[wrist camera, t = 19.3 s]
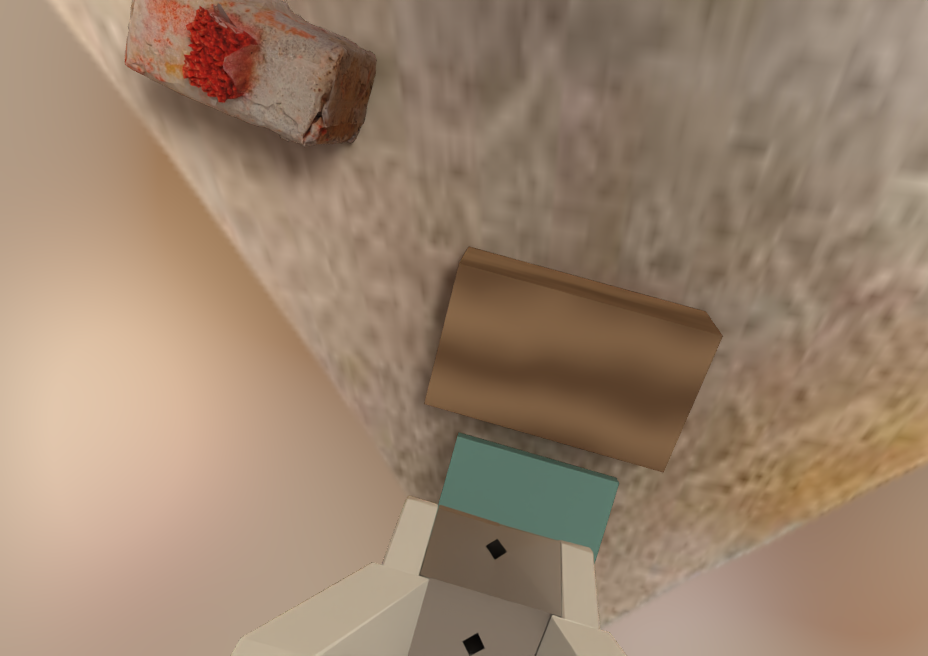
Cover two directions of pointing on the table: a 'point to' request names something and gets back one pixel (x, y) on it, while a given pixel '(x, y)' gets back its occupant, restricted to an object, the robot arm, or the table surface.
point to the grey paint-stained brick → (255, 65)
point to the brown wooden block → (570, 359)
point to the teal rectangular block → (529, 492)
